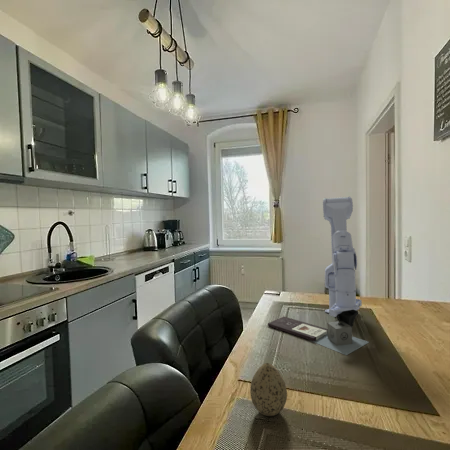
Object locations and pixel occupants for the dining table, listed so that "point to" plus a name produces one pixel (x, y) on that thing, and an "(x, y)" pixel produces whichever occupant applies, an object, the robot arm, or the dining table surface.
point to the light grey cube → (339, 333)
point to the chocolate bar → (298, 328)
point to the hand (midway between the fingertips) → (346, 333)
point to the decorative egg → (268, 390)
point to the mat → (341, 348)
